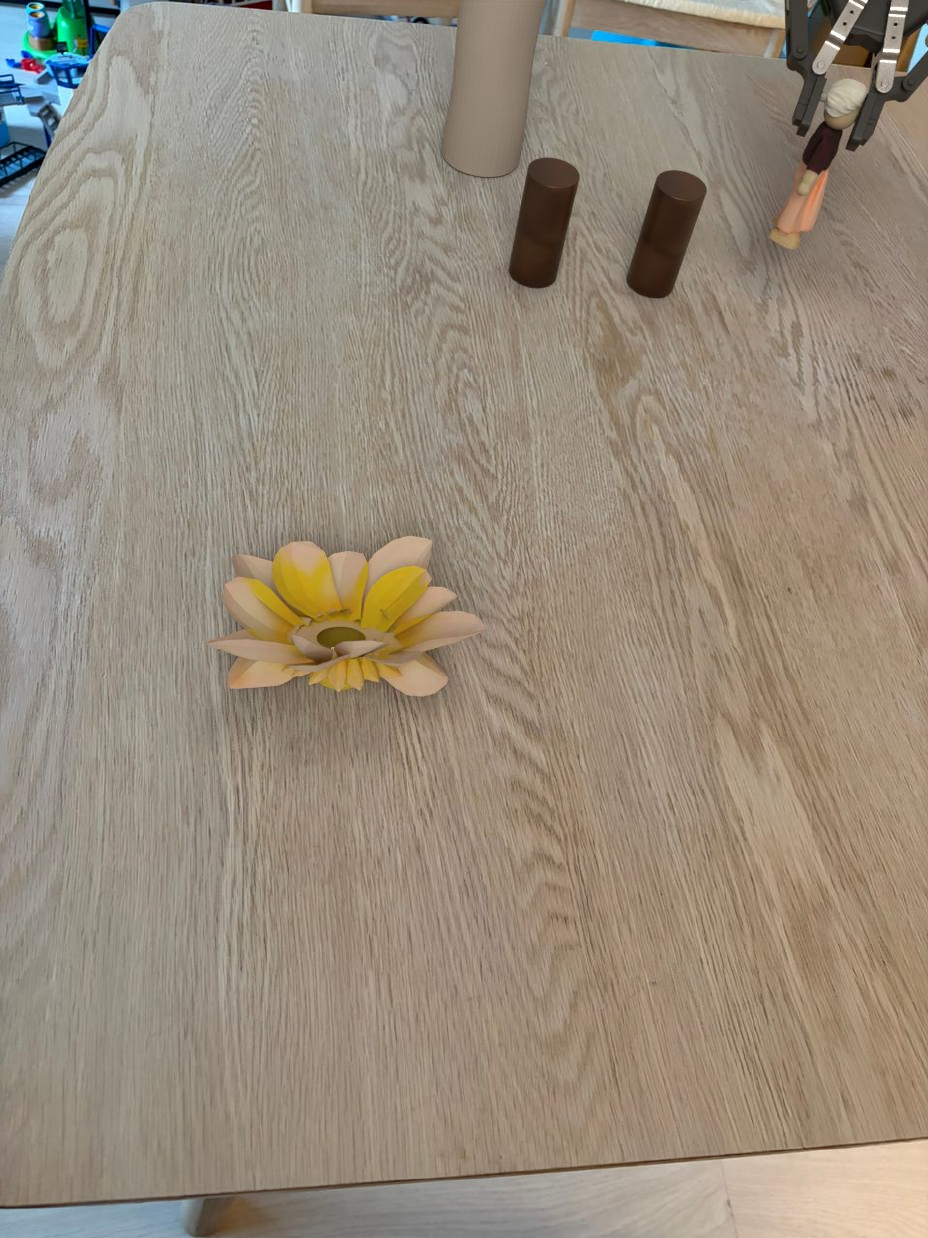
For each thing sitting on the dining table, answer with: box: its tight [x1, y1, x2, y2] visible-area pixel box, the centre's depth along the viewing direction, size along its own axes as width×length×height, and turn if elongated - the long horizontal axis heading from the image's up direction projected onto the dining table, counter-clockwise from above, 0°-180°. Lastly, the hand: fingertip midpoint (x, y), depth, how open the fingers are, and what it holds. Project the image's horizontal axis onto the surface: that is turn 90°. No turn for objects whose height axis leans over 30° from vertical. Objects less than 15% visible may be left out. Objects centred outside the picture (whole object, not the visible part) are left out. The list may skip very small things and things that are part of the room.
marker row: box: [508, 157, 708, 299], centre depth 82 cm, size 14×4×9 cm, turn 92°
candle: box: [440, 0, 547, 178], centre depth 88 cm, size 7×14×20 cm, turn 172°
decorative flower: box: [203, 535, 487, 698], centre depth 58 cm, size 15×11×10 cm
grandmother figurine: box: [768, 78, 869, 251], centre depth 81 cm, size 8×4×13 cm, turn 171°
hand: (827, 139), depth 78 cm, fingers closed on grandmother figurine, 3 cm apart
